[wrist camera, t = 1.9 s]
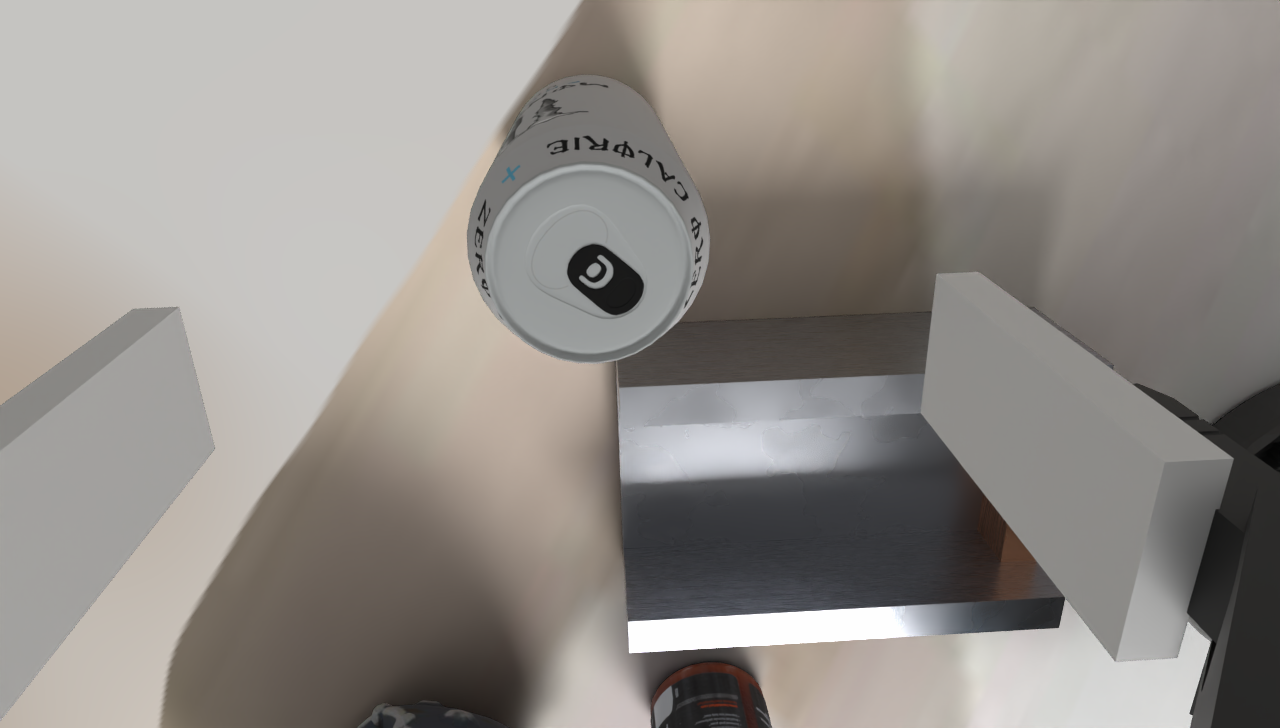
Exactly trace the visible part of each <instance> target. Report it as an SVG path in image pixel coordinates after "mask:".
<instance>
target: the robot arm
mask: <svg viewBox="0 0 1280 728" xmlns="http://www.w3.org/2000/svg"><path fill="white" fill-rule="evenodd" d="M921 414H922V415H923V417H924V418H925V419H926V420H927V422H928V423H929V424H930V425H931V427H932V428H933V429H934V431H935V432H936V433H937V434H938V436H939V437H940V438H941V440H942V441H943V442H944V443H945V445H946V446H947V447H948V449H949V450H950V451H951V452H952V454H953V455H954V456H955V457H956V459H957V460H958V461H959V463H960V464H961V465H962V466H963V468H964V469H965V470H966V472H967V473H968V474H969V475H970V477H971V478H972V479H973V480H974V482H975V483H976V484H977V486H978V487H979V488H980V489H981V491H982V492H983V493H984V495H985V496H986V497H987V498H988V500H989V501H990V502H991V503H992V505H993V506H994V507H995V509H996V510H997V511H998V512H999V514H1000V515H1001V516H1002V518H1003V519H1004V520H1005V521H1006V523H1007V524H1008V525H1009V526H1010V528H1011V529H1012V530H1013V532H1014V533H1015V534H1016V535H1017V537H1018V538H1019V539H1020V541H1021V542H1022V543H1023V544H1024V546H1025V547H1026V548H1027V549H1028V551H1029V552H1030V553H1031V555H1032V556H1033V557H1034V558H1035V560H1036V561H1037V562H1038V564H1039V565H1040V566H1041V567H1042V569H1043V570H1044V571H1045V572H1046V574H1047V575H1048V576H1049V578H1050V579H1051V580H1052V581H1053V583H1054V584H1055V585H1056V587H1057V588H1058V589H1059V590H1060V592H1061V593H1062V594H1063V595H1064V597H1065V598H1066V599H1067V601H1068V602H1069V603H1070V604H1071V606H1072V607H1073V608H1074V610H1075V611H1076V612H1077V613H1078V615H1079V616H1080V617H1081V618H1082V620H1083V621H1084V622H1085V624H1086V625H1087V626H1088V627H1089V629H1090V630H1091V631H1092V633H1093V634H1094V635H1095V636H1096V638H1097V639H1098V640H1099V641H1100V643H1101V644H1102V645H1103V647H1104V648H1105V649H1106V650H1107V652H1108V653H1109V654H1110V656H1111V657H1112V658H1113V659H1114V661H1115V662H1122V661H1137V660H1153V659H1168V658H1177V657H1178V654H1179V650H1180V647H1181V643H1182V640H1183V636H1184V633H1185V629H1186V626H1187V622H1189V623H1190V624H1191V625H1192V626H1193V627H1194V628H1195V629H1196V630H1197V631H1198V632H1199V633H1200V634H1202V635H1203V636H1204V637H1205V638H1207V639H1208V640H1209V641H1211V644H1210V647H1209V651H1208V654H1207V657H1206V661H1205V664H1204V667H1203V671H1202V674H1201V677H1200V681H1199V684H1198V687H1197V691H1196V694H1195V697H1194V700H1193V704H1192V707H1191V710H1190V714H1191V715H1193V718H1192V722H1191V727H1190V728H1280V384H1279V385H1276V386H1274V387H1272V388H1270V389H1268V390H1266V391H1264V392H1262V393H1260V394H1258V395H1256V396H1254V397H1253V398H1251V399H1249V400H1248V401H1246V402H1244V403H1243V404H1241V405H1240V406H1238V407H1237V408H1235V409H1234V410H1232V411H1231V412H1229V413H1228V414H1227V415H1226V416H1224V417H1223V418H1222V419H1220V420H1219V421H1218V422H1217V423H1216V424H1214V425H1213V426H1212V425H1211V424H1209V423H1208V422H1206V421H1205V420H1199V416H1198V415H1196V414H1195V413H1194V412H1192V411H1191V410H1189V409H1188V408H1187V407H1185V406H1184V405H1182V404H1181V403H1179V402H1178V401H1177V400H1175V399H1174V398H1172V397H1169V396H1167V395H1164V394H1162V393H1159V392H1157V391H1155V390H1152V389H1150V388H1147V387H1145V386H1143V385H1140V384H1131V383H1130V382H1129V381H1127V380H1126V379H1125V378H1123V377H1122V376H1121V375H1119V374H1118V373H1116V372H1115V371H1114V370H1112V369H1111V368H1110V367H1108V366H1107V365H1106V364H1104V363H1103V362H1101V361H1100V360H1099V359H1097V358H1096V357H1095V356H1093V355H1092V354H1091V353H1089V352H1088V351H1086V350H1085V349H1084V348H1082V347H1081V346H1080V345H1078V344H1077V343H1076V342H1074V341H1073V340H1071V339H1070V338H1069V337H1067V336H1066V335H1065V334H1063V333H1062V332H1061V331H1059V330H1058V329H1056V328H1055V327H1054V326H1052V325H1051V324H1050V323H1048V322H1047V321H1046V320H1044V319H1043V318H1041V317H1040V316H1039V315H1037V314H1036V313H1035V312H1033V311H1032V310H1031V309H1029V308H1028V307H1026V306H1025V305H1024V304H1022V303H1021V302H1020V301H1018V300H1017V299H1016V298H1014V297H1013V296H1011V295H1010V294H1009V293H1007V292H1006V291H1005V290H1003V289H1002V288H1001V287H999V286H998V285H996V284H995V283H994V282H992V281H991V280H990V279H988V278H987V277H985V276H984V275H983V274H981V273H980V272H961V273H938V274H936V282H935V291H934V300H933V308H932V317H931V326H930V334H929V343H928V352H927V360H926V369H925V378H924V386H923V395H922V404H921ZM214 449H215V447H214V443H213V439H212V435H211V431H210V427H209V423H208V419H207V415H206V411H205V407H204V403H203V399H202V395H201V392H200V388H199V384H198V379H197V375H196V372H195V368H194V364H193V360H192V356H191V352H190V348H189V344H188V340H187V336H186V332H185V328H184V324H183V320H182V317H181V312H180V308H179V307H168V308H147V309H146V308H145V309H133V310H131V311H130V312H128V313H127V314H126V315H124V316H123V317H121V318H120V319H119V320H118V321H116V322H115V323H114V324H112V325H110V326H109V327H108V328H107V329H105V330H104V331H102V332H101V333H99V334H98V335H97V336H95V337H94V338H93V339H91V340H90V341H88V342H87V343H86V344H85V345H83V346H82V347H80V348H79V349H78V350H76V351H75V352H73V353H72V354H71V355H69V356H68V357H67V358H65V359H64V360H62V361H61V362H60V363H58V364H57V365H55V366H54V367H53V368H52V369H50V370H49V371H48V372H46V373H45V374H43V375H42V376H40V377H39V378H38V379H36V380H35V381H33V382H32V383H31V384H29V385H28V386H27V387H25V388H24V389H22V390H21V391H20V392H19V393H17V394H16V395H14V396H13V397H11V398H10V399H9V400H7V401H6V402H5V403H3V404H2V405H0V721H1V720H2V718H3V717H4V716H5V715H6V713H7V712H8V711H9V709H10V708H11V707H12V706H13V704H14V703H15V702H16V701H17V699H18V698H19V697H20V696H21V694H22V693H23V692H24V691H25V689H26V688H27V687H28V685H29V684H30V683H31V682H32V680H33V679H34V678H35V676H36V675H37V674H38V673H39V671H40V670H41V669H42V668H43V666H44V665H45V664H46V662H47V661H48V660H49V659H50V658H51V656H52V655H53V654H54V652H55V651H56V650H57V649H58V647H59V646H60V645H61V643H62V642H63V641H64V640H65V638H66V637H67V636H68V635H69V633H70V632H71V631H72V630H73V628H74V627H75V626H76V625H77V623H78V622H79V621H80V619H81V618H82V617H83V616H84V614H85V613H86V612H87V611H88V609H89V608H90V607H91V606H92V604H93V603H94V602H95V600H96V599H97V598H98V596H99V595H100V594H101V593H102V592H103V590H104V589H105V588H106V586H107V585H108V584H109V583H110V581H111V580H112V579H113V578H114V576H115V575H116V574H117V572H118V571H119V570H120V569H121V567H122V566H123V565H124V564H125V562H126V561H127V559H129V557H130V556H131V555H132V553H133V552H134V551H135V550H136V548H137V547H138V546H139V544H140V543H141V542H142V541H143V539H144V538H145V537H146V536H147V534H148V533H149V532H150V531H151V529H152V528H153V527H154V526H155V524H156V523H157V522H158V521H159V519H160V518H161V517H162V515H163V514H164V513H165V512H166V510H167V509H168V508H169V506H170V505H171V504H172V503H173V501H174V500H175V499H176V498H177V496H178V495H179V494H180V493H181V491H182V490H183V488H185V486H186V485H187V484H188V482H189V481H190V479H192V477H193V476H194V475H195V474H196V472H197V471H198V470H199V468H200V467H201V466H202V465H203V463H204V462H205V461H206V459H207V458H208V457H209V456H210V455H211V453H212V452H213V451H214Z"/></svg>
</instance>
